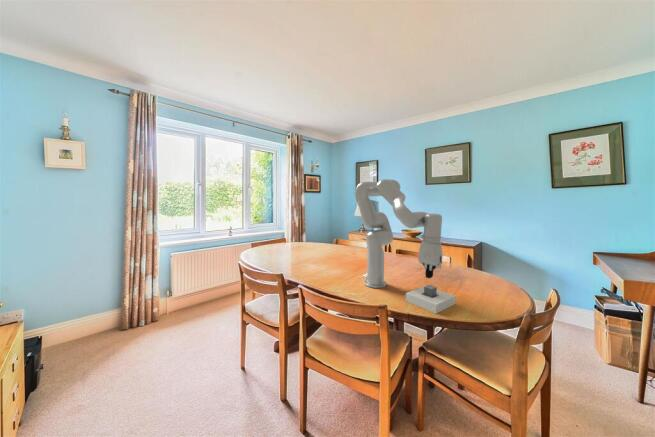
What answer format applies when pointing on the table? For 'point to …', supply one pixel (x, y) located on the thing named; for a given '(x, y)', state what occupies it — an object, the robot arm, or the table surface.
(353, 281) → the table surface
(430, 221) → the robot arm
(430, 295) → the plug
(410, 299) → the socket housing
